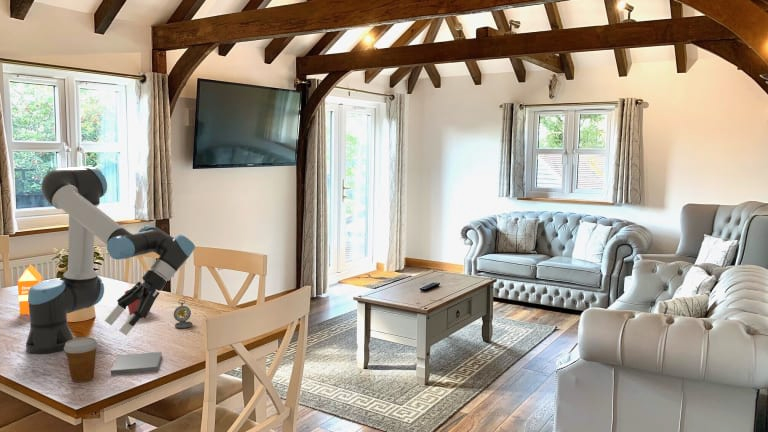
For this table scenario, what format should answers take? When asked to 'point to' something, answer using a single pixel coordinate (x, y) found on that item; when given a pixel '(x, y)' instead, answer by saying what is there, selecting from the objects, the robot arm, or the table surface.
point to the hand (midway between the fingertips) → (114, 328)
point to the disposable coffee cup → (81, 358)
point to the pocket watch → (181, 311)
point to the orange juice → (27, 287)
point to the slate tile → (136, 363)
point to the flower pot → (133, 305)
